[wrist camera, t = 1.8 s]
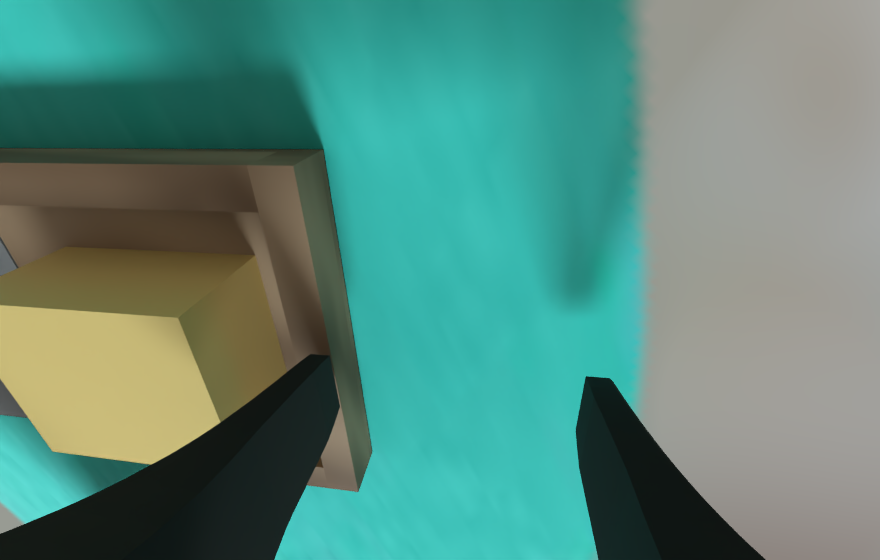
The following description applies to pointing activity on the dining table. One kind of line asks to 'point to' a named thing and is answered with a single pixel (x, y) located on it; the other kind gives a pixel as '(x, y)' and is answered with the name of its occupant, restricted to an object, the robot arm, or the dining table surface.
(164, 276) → the block
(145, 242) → the brown wooden tray
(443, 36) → the dining table surface
